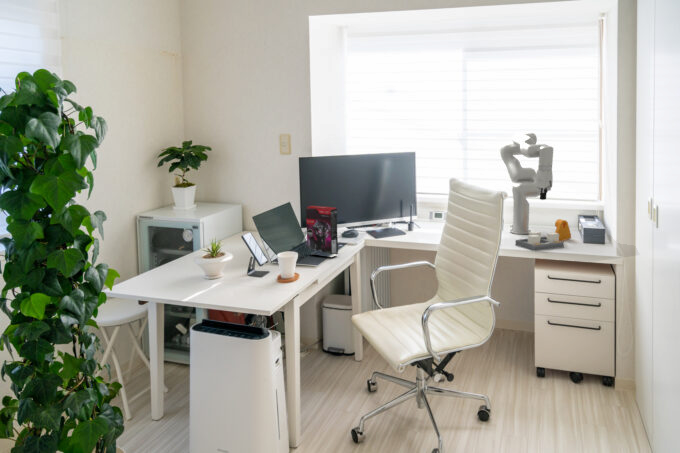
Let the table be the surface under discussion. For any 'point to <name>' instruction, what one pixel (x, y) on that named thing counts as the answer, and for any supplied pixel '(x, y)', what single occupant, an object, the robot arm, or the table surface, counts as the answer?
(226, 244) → the table surface
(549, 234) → the switch tab
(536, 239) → the switch tab
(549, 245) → the dark grey tray
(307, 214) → the graphics card box
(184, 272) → the table surface
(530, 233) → the switch tab
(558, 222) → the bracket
